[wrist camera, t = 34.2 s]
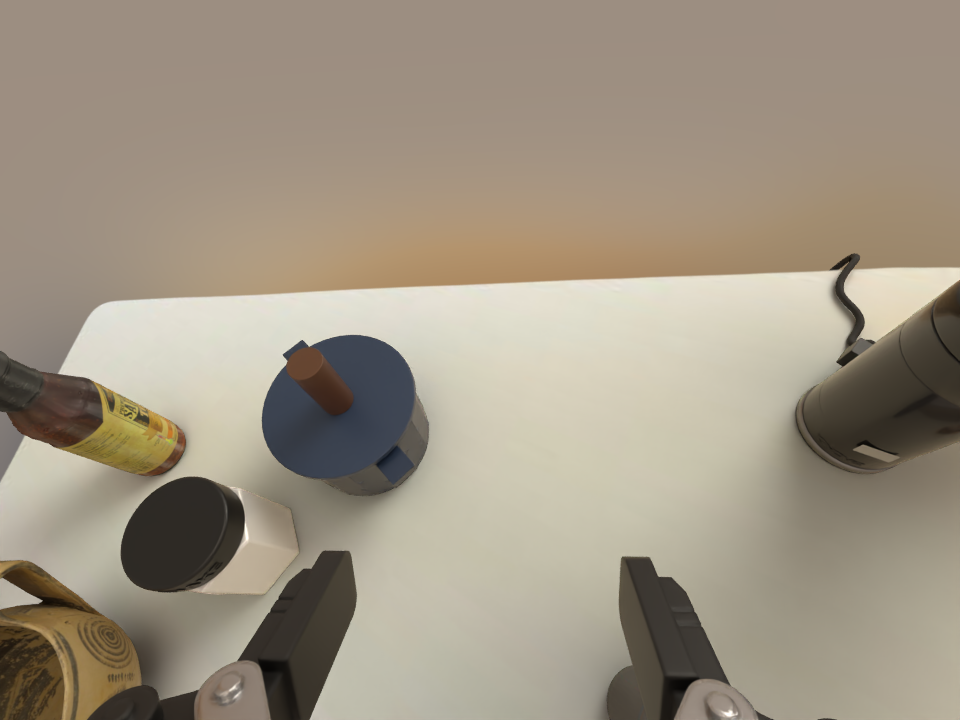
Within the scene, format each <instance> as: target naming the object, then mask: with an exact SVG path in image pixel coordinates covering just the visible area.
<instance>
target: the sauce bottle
mask: <svg viewBox="0 0 960 720" xmlns="http://www.w3.org/2000/svg"><path fill="white" fill-rule="evenodd" d="M0 411H1V412H6V413H7V415H8V416H9V418H10V420H11V421H12V424H13V426H15V427H16V428H17V430H18V431H19V432H21V434H23V435H26V436H28V437H30V438H32V439H35V440H40V441H42V442H45V443H49V444H50V445H52V446H53V447H56V448H59V449H62V450H65V451H67V452H70V453H73V454H76V455H79V456H82V457H85V458H88V459H91V460H94V461H97V462H100V463H103V464H106V465H109V466H112V467H114V468H117V469H121V470H124V471H127V472H130V473H134V474H139V475H144V476H152V475H158V474H161V473H164V472H165V471H167V470H169V469H170V468H171V467H172V466H173V465H175V464H176V462H177V461H178V460H179V459H180V457H181V456H182V454H183V452H184V449H185V444H186V440H185V436H184V433H183V432H182V430H181V429H180V428H179V427H178V426H177V425H175V424H174V423H172V422H171V421H170V420H168V419H166V418H164V417H162V416H160V415H158V414H156V413H154V412H152V411H150V410H148V409H146V408H144V407H142V406H140V405H139V404H136V403H134V402H133V401H131V400H129V399H127V398H125V397H123V396H121V395H119V394H117V393H115V392H113V391H111V390H109V389H107V388H105V387H104V386H102V385H100V384H98V383H95V382H94V381H92V380H90V379H87V378H83V377H75V376H68V375H61V374H53V373H46V372H40V371H38V370H36V369H33V368H29V367H27V366H25V365H23V364H21V363H19V362H17V361H14V360H12V359H10V358H9V357H8V356H7V355H6V354H5V353H3V352H2V351H0Z"/></svg>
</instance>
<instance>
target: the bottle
mask: <svg viewBox="0 0 960 720" xmlns="http://www.w3.org/2000/svg"><path fill="white" fill-rule="evenodd" d="M607 708H608V714H609V718H610V720H647V716H646V713H645V709H644V705H643V702H642V698H641V694H640V691H639V687H638V683H637V680H636V676H635V672H634V668H633V665H632V666H628V667H626V668H624V669H622V670H621V671H620V672H618V674H617V675H616V676H615V677H614V679H613V680H612V682H611V685H610V687H609V690H608V696H607Z"/></svg>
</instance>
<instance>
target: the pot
mask: <svg viewBox="0 0 960 720" xmlns="http://www.w3.org/2000/svg"><path fill="white" fill-rule="evenodd" d="M307 347H309V346H308V345H307V344H306V343H305V342H304V341H303V340H302V341H300V342H299V343H298V344H296V345H295V346H294V347H292V348H291V349H289V350H288V351H287V352H285V353H284V354H283V356H284V357H285V358H286V360H287V361H288V359H289V358H290V357H291V355H292V354H293V353H295V352H296V351H298V350H299V349H302V348H307ZM428 438H429V424H428V420H427V417H426V414H425V412H424V409H423V406H422V404H421V402H420V400H419V398H418V396H417V394H416V404H415V409H414V414H413V417H412V420H411V422H410V425H409V427H408V429H407V431H406V433H405V434H404V436H403V438H402V439H401V440H400V442H399V443H398V444H397V446H396V447H395V448H394V449H393V450H392V451H391V452H390V453H389V454H388V455H387V456H386V457H385V458H383V459H382V460H381V461H380V462H378V463H377V464H375V465H374V466H372V467H370V468H369V469H367V470H365V471H363V472H360V473H358V474H355V475H352V476H349V477H346V478H341V479H334V480H322V481H323V482H325V483H326V484H328V485H330V486H332V487H334V488H336V489H338V490H340V491H342V492H344V493H347V494H349V495H357V496H371V495H376V494H380V493H383V492H386V491H388V490H390V489H393V488H395V487H397V486H398V485H399V484H401V483H402V482H403V481H405V480H406V479H407V478H408V477H409V476H410V475H411V474H412V473H413V472H414V471H415V470H416V469H417V467H418V465H419V463H420V462H421V460H422V458H423V456H424V454H425V451H426V448H427V444H428Z"/></svg>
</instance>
